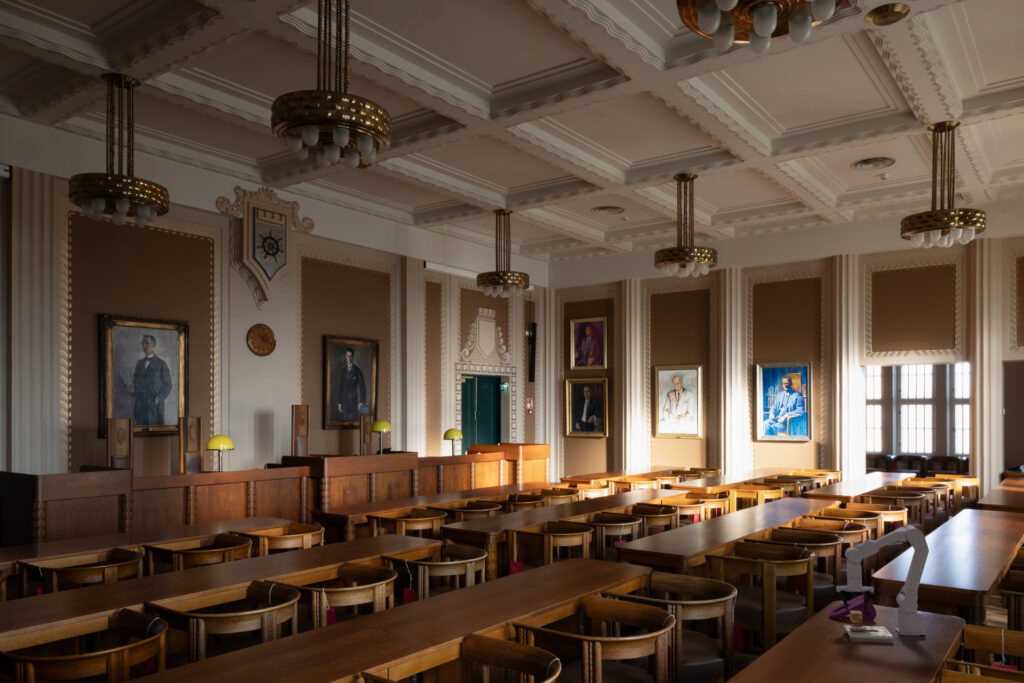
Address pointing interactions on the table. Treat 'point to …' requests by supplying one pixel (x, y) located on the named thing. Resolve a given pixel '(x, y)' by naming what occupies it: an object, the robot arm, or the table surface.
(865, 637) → the keyhole plate
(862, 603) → the mounting bracket
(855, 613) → the keyhole peg
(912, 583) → the robot arm
